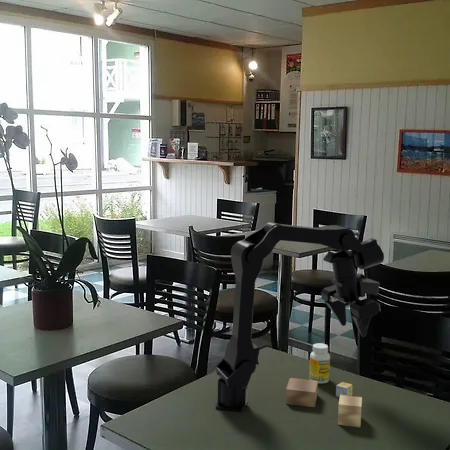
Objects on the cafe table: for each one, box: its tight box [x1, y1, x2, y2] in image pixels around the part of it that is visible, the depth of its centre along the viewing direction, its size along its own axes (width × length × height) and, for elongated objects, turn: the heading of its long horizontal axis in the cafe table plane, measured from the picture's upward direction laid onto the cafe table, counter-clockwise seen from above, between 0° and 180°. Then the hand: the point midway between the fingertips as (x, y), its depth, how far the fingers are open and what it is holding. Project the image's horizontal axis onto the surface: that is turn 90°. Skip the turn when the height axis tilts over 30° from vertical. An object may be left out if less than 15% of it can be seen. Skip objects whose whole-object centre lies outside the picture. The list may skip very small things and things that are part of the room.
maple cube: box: [337, 395, 363, 428], centre depth 132 cm, size 5×5×5 cm
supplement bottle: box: [309, 342, 331, 384], centre depth 154 cm, size 5×5×10 cm
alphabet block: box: [335, 381, 353, 398], centre depth 145 cm, size 3×3×3 cm
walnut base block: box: [285, 377, 319, 408], centre depth 143 cm, size 7×7×4 cm
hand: (353, 330), depth 150 cm, fingers open, 9 cm apart
